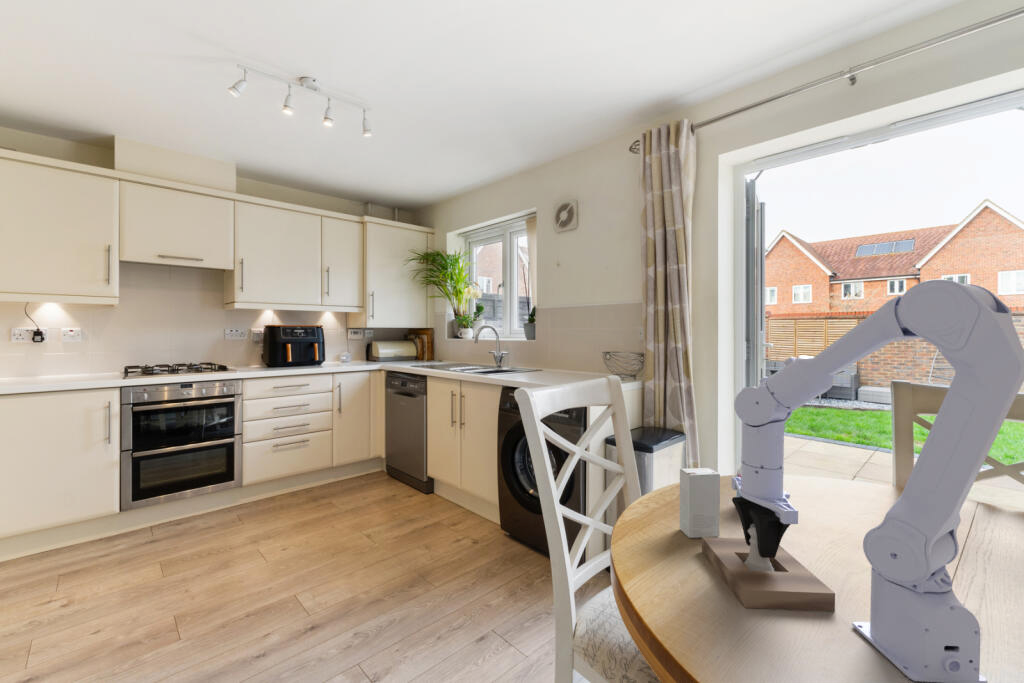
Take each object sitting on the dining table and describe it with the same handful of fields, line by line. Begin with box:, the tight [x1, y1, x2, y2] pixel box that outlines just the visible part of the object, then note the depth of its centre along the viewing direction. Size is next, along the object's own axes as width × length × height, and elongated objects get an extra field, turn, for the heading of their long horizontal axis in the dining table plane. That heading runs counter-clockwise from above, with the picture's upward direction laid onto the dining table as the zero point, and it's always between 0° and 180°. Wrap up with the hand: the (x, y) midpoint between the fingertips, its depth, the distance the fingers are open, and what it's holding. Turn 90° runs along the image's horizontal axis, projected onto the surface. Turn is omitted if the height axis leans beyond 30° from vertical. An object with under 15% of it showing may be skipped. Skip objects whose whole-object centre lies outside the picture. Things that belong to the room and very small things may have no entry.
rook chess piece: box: [744, 523, 774, 572], centre depth 69 cm, size 4×4×8 cm
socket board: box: [701, 537, 836, 612], centre depth 69 cm, size 16×12×2 cm
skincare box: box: [679, 467, 721, 539], centre depth 84 cm, size 6×4×12 cm
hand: (760, 550), depth 69 cm, fingers closed on rook chess piece, 3 cm apart
